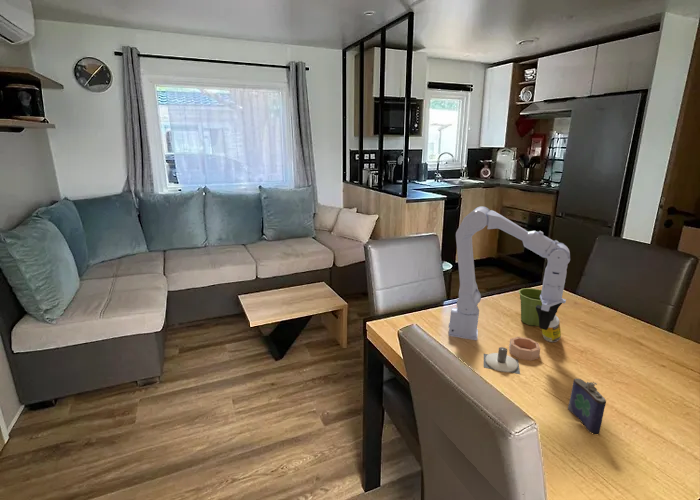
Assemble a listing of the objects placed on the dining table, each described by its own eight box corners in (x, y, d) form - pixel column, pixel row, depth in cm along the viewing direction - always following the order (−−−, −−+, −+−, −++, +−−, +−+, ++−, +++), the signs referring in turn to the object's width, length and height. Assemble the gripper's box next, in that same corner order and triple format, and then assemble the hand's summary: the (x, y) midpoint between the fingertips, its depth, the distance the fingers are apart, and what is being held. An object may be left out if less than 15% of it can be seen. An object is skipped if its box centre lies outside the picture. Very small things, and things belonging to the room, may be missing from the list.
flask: (565, 408, 97) (572, 371, 94) (575, 407, 97) (583, 371, 94) (592, 435, 88) (601, 396, 85) (603, 434, 88) (613, 395, 85)
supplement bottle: (555, 345, 126) (552, 324, 121) (539, 338, 131) (536, 317, 126) (564, 334, 128) (562, 313, 123) (548, 327, 133) (545, 306, 127)
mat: (483, 368, 113) (483, 367, 113) (483, 354, 120) (483, 353, 120) (520, 375, 110) (520, 374, 110) (517, 360, 117) (518, 359, 117)
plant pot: (547, 332, 135) (552, 303, 132) (511, 324, 141) (516, 295, 137) (550, 319, 144) (555, 292, 141) (517, 312, 150) (521, 285, 147)
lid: (485, 368, 112) (487, 354, 111) (485, 353, 121) (487, 339, 119) (518, 374, 110) (520, 360, 108) (516, 358, 118) (518, 344, 116)
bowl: (509, 357, 119) (511, 348, 118) (508, 344, 126) (509, 335, 125) (539, 363, 116) (541, 353, 115) (536, 349, 124) (537, 339, 123)
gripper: (563, 294, 108) (555, 337, 112) (572, 280, 119) (565, 319, 123) (536, 288, 112) (529, 329, 116) (547, 275, 123) (541, 313, 127)
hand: (546, 324), depth 119 cm, fingers open, 7 cm apart
